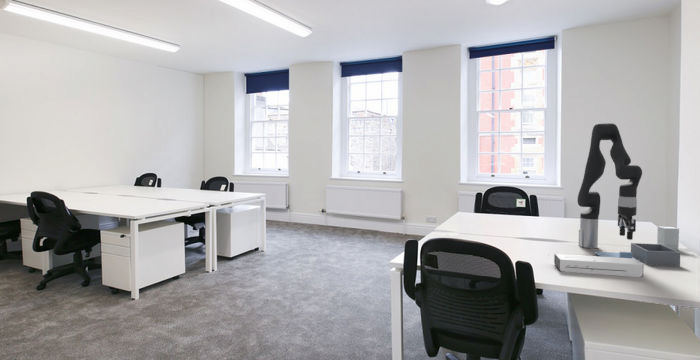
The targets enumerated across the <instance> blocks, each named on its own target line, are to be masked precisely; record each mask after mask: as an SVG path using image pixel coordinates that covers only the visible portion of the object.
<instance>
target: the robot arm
mask: <svg viewBox="0 0 700 360" xmlns="http://www.w3.org/2000/svg"><path fill="white" fill-rule="evenodd" d="M601 141H611V142H612V146H611V148H610V151H609V156H610V158H611V160H612V162H613V163H614V168H615V176H616V177H617V179H619V180H622V181H623V180H624V181H625V180H629V181H628V182H626V183H623V184H621V185H619V190H618V200H617V201H618V202H617V214H618V217H617V226H618V228H619V236H621V237H622V236H623V237H625V236H626V239H627V240H630V241H631V240H633V235H634V233H635V232H636V227H637V225H636V224H637V223H636V219H635V218H633V217H635V216H637V207H638V202H637V201H638V200H637V198H638V197H637V192H638V187H639V184H640V180H641V179H642V176H643V170H642V168H641V166H640V165H637V164H635V165H634V164H633V165H631V163H632V160H631V157H630V155H629V154H628V152H627V150H626V149H625V146H624V142H623V139H622V136H621V133H620V130H619V128H618V126H617V125H616V124H615V123H613V122H612V123H611V122H608V123H605V122H603V123H596V124H594V125H593V127H592V130H591V138H590V147H589V151H588V157H587V160H586V164H585V169H584V174H583V179H582V181H581V185H580V188H579V191H578V195H577V204H578V206H579V207H581V208H589V209H587V210H585V211H582V212H580V217H579V219H580V220H579V229H578V246H579V247H580V248H586V249H597V248H598V246H599V215H600V208H601V195H600V193H599V192H598V191H590V190H591V188H592V187H593V185H594V184H595V183H596V182H597V181H598V180H599V179H601V177H602V176H603V175H604V173H605V168H606V163H607V162H606V159H605V157H604V154H603V153H602V151H601Z"/></svg>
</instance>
